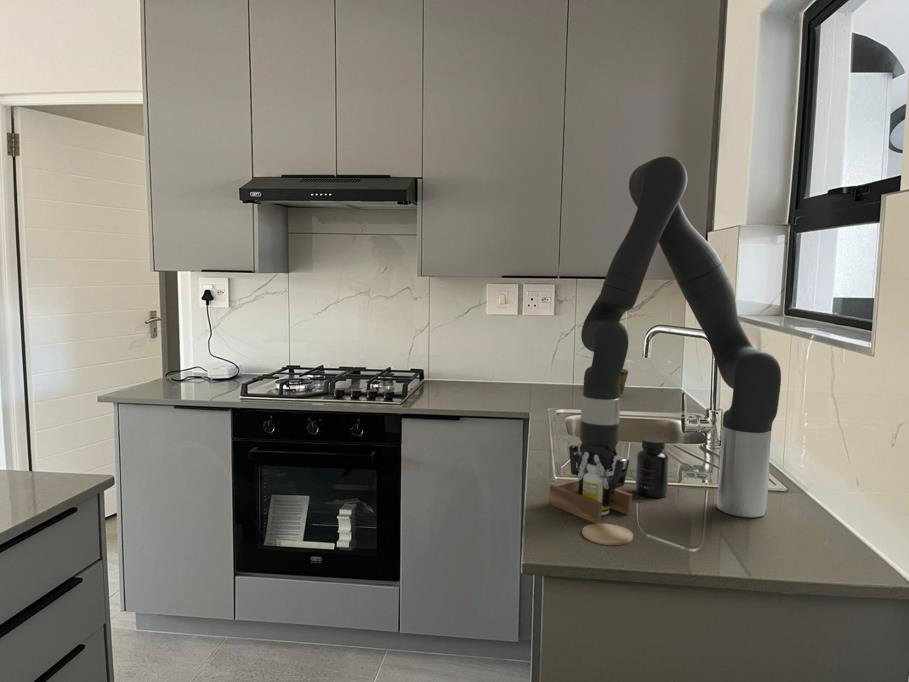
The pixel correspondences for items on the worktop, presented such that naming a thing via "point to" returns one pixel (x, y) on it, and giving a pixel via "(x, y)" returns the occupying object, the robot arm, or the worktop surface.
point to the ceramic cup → (623, 380)
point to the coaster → (607, 534)
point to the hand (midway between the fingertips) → (595, 501)
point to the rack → (586, 501)
